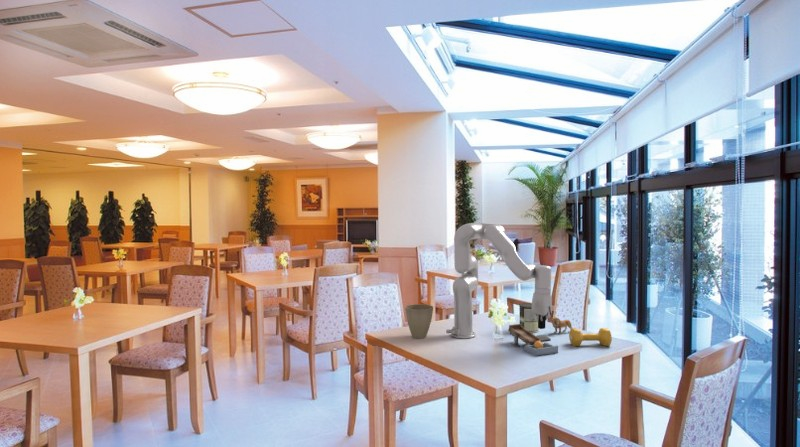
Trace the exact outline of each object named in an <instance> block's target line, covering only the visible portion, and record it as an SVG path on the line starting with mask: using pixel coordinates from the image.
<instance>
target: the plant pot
mask: <svg viewBox="0 0 800 447" xmlns="http://www.w3.org/2000/svg"><path fill="white" fill-rule="evenodd" d="M404 308H405V310H404V311H405V317H406V321H407V325H408V329H409V332H410V335H411V337H412V338H413V337H414V338H413V339H418V338H421V339H425V338H427V335H428V333H429V330H430V326H431V323H432V319H433V313H434V306H433V305H431V304H430V305H429V304H424V303H419V304H418V303H414V304H408V305H406V306H404ZM424 337H425V338H424Z"/></svg>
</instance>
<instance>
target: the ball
mask: <svg viewBox="0 0 800 447" xmlns="http://www.w3.org/2000/svg"><path fill="white" fill-rule="evenodd" d="M534 347H535V348H536V349H539V348H542V347H543V342H541V341H536V342H535V343H534Z"/></svg>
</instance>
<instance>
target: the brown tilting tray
mask: <svg viewBox="0 0 800 447" xmlns="http://www.w3.org/2000/svg"><path fill="white" fill-rule="evenodd" d="M508 332H509V334H510V335H511V337H514V334H517V335H518V340H521V341H522V342H523V343H525V344H526V345H532V344H533V343H535V342H536V341H541V342H542V343H548V342H551V341H552V340H551V339H552V338H550V337H548V336H547V335H546V334H538V335H536V334H535V333H533V334H532V333H531V332H529V331H528V330H527V329H525V328H524V327H522V324H520V323H516V324H509V325H508Z"/></svg>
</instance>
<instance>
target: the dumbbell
mask: <svg viewBox="0 0 800 447" xmlns="http://www.w3.org/2000/svg"><path fill="white" fill-rule="evenodd" d="M568 338H569V342H570V344H571V346H573V347H580V346H581V344H582V342H585V341H586V342H589V341H590V342H591V341H593V342H594V341H596V342H597V341H598V342H599V344H600V345H602V346H604V347H610V346H611V345H612V340H613V337H612V332H611V330H610V329H609V328H607V327H601V328H599V330H598V332H597V333H592V332H591V333H582V331H581V330H580V329H579V328H576V327H572V328H571V329H570V328H569V334H568Z"/></svg>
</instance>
